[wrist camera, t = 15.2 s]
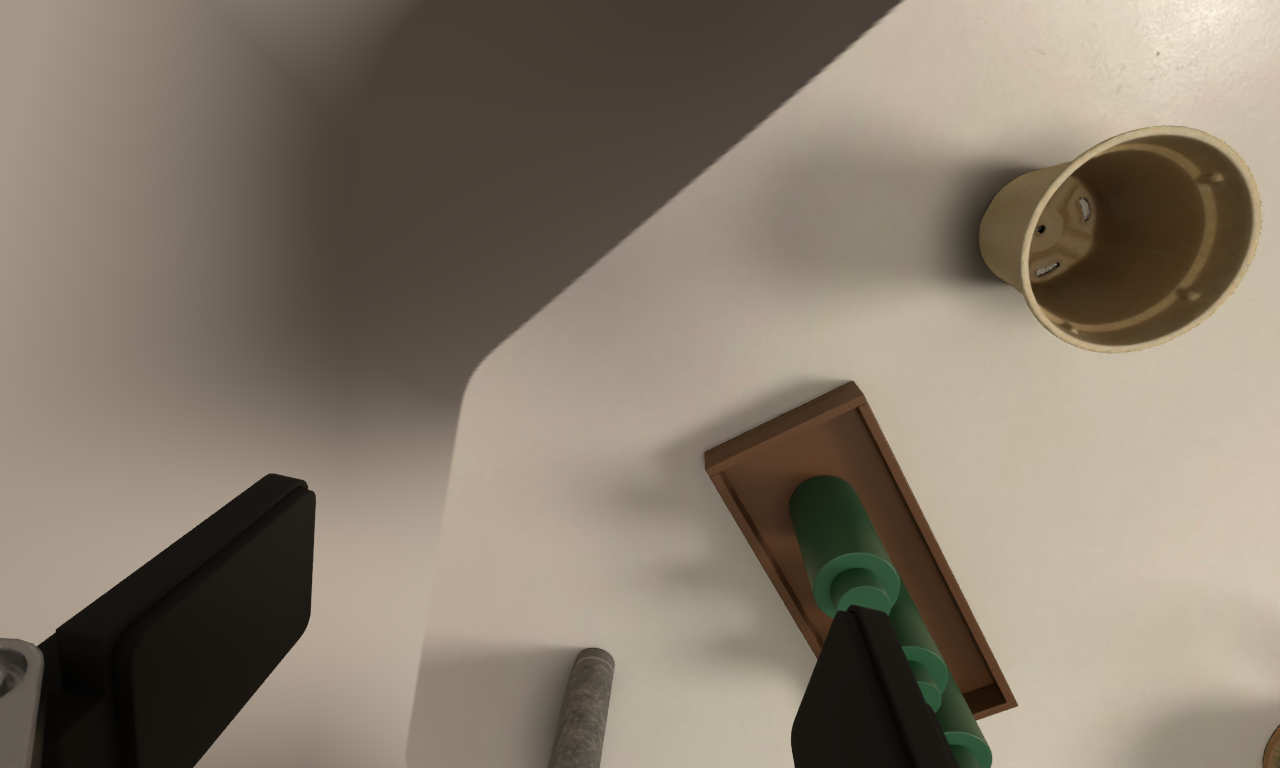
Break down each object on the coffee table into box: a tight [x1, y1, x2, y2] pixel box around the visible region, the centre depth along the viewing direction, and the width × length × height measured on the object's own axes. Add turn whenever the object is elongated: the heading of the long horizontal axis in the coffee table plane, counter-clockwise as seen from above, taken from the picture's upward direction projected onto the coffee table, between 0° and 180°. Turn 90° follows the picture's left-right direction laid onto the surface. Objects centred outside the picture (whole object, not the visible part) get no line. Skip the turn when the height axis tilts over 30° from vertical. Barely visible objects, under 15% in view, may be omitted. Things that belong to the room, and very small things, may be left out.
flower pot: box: [979, 126, 1262, 353], centre depth 31 cm, size 9×9×9 cm
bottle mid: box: [888, 566, 948, 712], centre depth 38 cm, size 4×4×10 cm
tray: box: [704, 381, 1018, 720], centre depth 42 cm, size 25×10×2 cm, turn 30°
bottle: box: [789, 476, 900, 619], centre depth 36 cm, size 4×4×10 cm
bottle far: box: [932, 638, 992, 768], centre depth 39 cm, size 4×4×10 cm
